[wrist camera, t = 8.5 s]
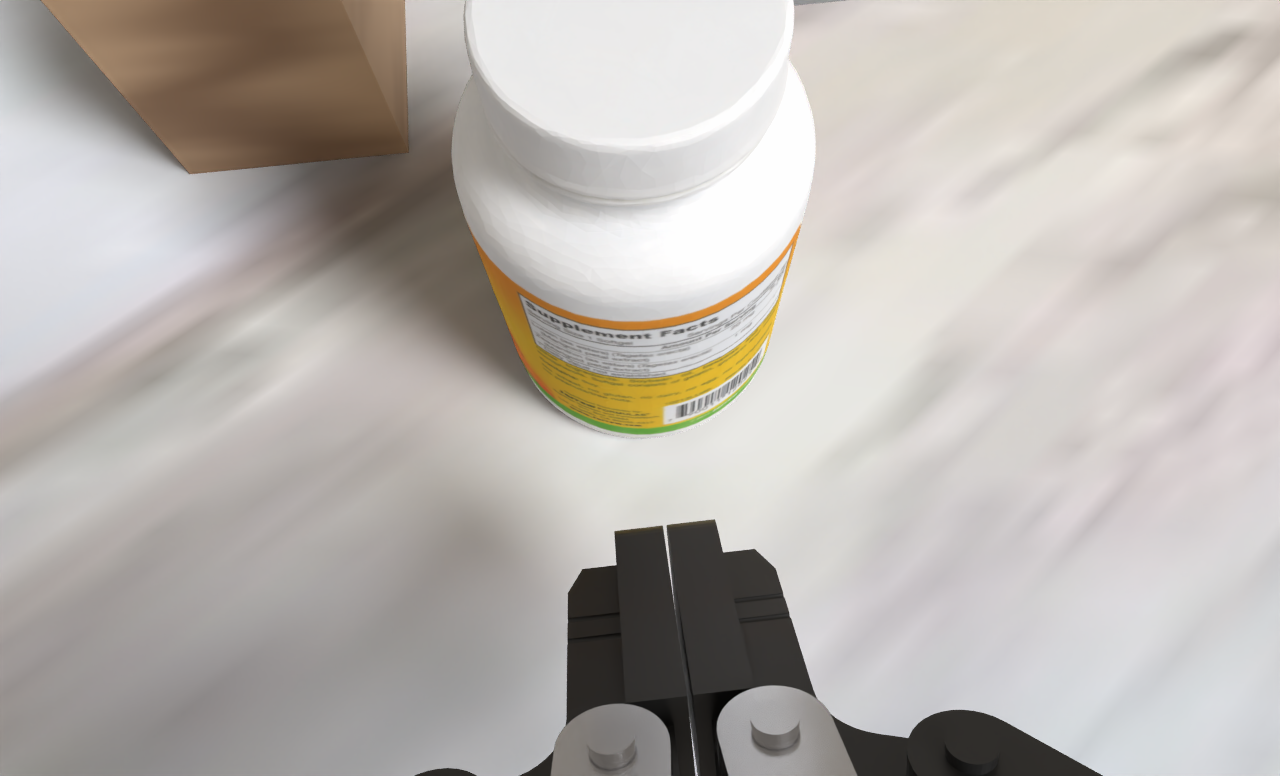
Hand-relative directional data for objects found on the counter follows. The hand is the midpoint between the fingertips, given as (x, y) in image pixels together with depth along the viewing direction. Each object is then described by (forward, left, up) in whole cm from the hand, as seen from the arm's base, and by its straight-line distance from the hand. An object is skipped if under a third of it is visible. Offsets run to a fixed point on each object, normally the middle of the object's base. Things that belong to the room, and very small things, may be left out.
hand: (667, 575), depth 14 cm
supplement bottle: (0, +6, -5) cm, 8 cm away
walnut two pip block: (-7, +13, -5) cm, 16 cm away
